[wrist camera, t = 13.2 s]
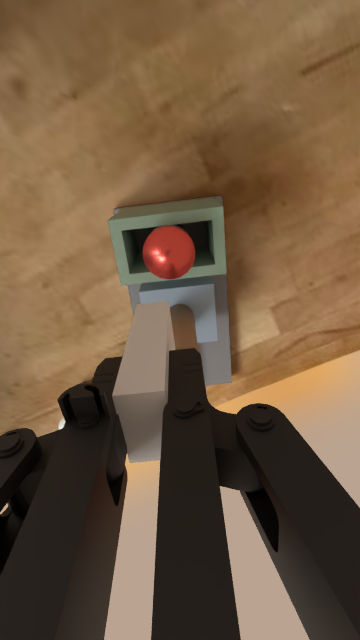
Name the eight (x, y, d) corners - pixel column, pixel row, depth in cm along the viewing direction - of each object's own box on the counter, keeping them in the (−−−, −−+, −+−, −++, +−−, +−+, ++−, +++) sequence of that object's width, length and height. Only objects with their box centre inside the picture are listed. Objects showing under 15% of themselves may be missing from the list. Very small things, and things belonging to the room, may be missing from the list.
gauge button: (153, 254, 36) (147, 282, 27) (147, 214, 34) (138, 230, 26) (192, 250, 36) (197, 276, 27) (188, 209, 34) (192, 224, 25)
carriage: (151, 329, 41) (139, 412, 27) (142, 278, 38) (124, 342, 24) (213, 322, 41) (232, 403, 27) (209, 270, 37) (228, 331, 24)
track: (149, 384, 47) (143, 433, 38) (115, 208, 36) (96, 221, 27) (230, 376, 46) (242, 424, 38) (220, 195, 35) (235, 205, 27)
